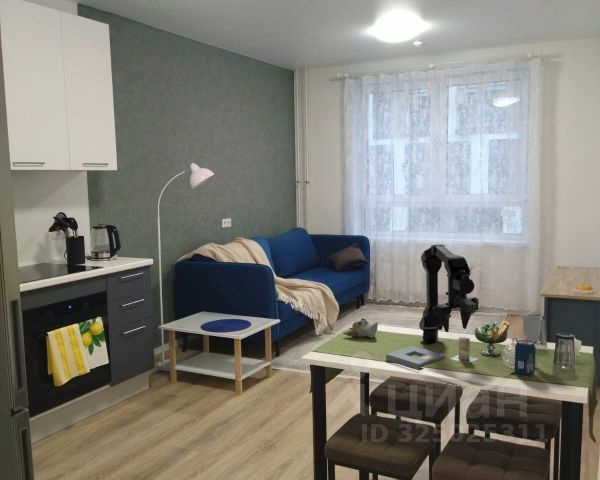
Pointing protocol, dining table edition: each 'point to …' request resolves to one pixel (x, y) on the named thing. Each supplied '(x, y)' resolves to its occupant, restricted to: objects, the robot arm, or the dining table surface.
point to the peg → (464, 348)
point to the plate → (464, 360)
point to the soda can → (525, 358)
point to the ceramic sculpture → (362, 329)
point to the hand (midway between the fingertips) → (455, 330)
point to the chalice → (532, 328)
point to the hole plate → (412, 362)
